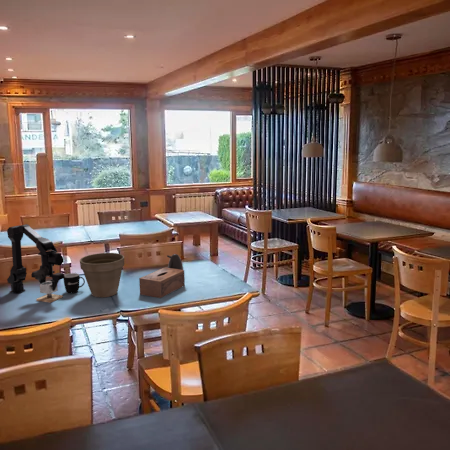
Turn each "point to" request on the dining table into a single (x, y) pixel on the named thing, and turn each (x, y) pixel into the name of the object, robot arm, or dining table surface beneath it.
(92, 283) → the plant pot
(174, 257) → the pump dispenser
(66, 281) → the mug
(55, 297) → the shaft block
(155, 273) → the tissue box cover
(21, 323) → the dining table surface
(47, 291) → the collar
